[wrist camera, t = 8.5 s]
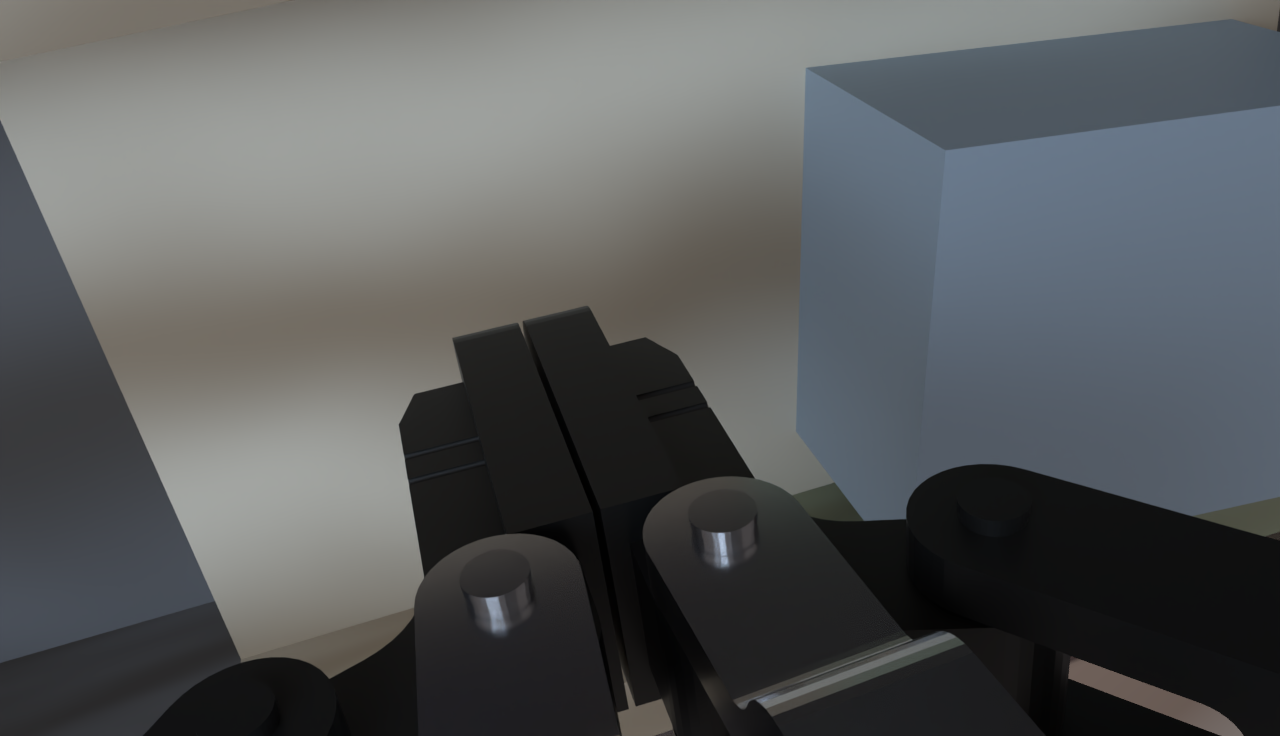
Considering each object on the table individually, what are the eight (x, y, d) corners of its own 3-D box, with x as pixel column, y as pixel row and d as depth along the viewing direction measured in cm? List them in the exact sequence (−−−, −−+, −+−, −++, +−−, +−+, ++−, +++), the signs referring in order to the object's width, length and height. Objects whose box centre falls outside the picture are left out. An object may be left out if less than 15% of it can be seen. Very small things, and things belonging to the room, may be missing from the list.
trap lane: (-839, 42, 13) (-1399, 182, 9) (1684, -429, 18) (2107, -485, 14) (-247, 784, 19) (-400, 1078, 15) (1508, 266, 25) (1764, 372, 20)
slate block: (805, 67, 16) (945, 150, 13) (1231, 19, 18) (1460, 81, 14) (796, 430, 19) (907, 578, 16) (1163, 362, 20) (1338, 483, 17)
